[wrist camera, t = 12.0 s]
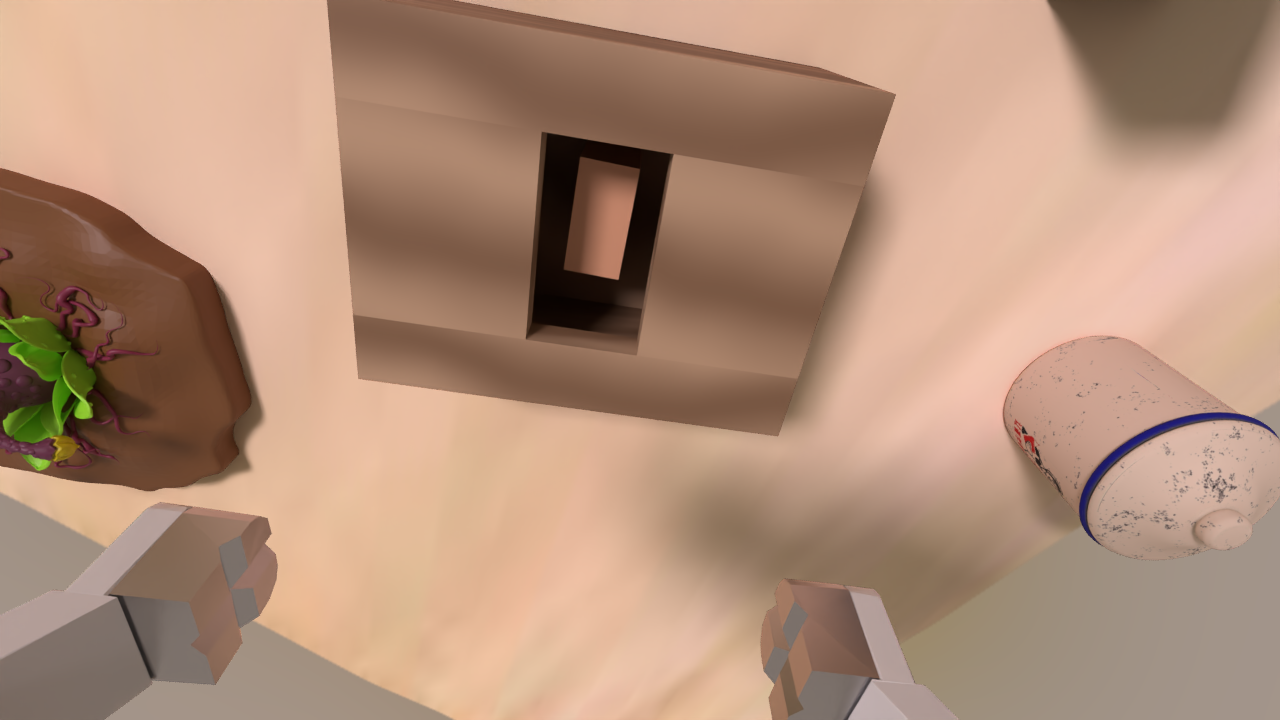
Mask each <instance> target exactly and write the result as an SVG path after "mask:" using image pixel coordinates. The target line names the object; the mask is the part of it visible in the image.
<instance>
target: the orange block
mask: <svg viewBox="0 0 1280 720" xmlns="http://www.w3.org/2000/svg"><path fill="white" fill-rule="evenodd" d="M640 161H641V148H635V147H629V146H623V145H617V144H611V143H605V142H599V141H594V140H587V142H586V145H585V147H584V149H583V151H582V154H581V156H580V162H579V168H578V175H577V182H576V189H575V196H574V202H573V209H572V216H571V223H570V229H569V236H568V243H567V250H566V256H565V263H564V270H569V271H574V272H580V273H585V274H590V275H595V276H601V277H606V278H611V279H616V280H618V279H619V274H620V269H621V264H622V259H623V254H624V249H625V244H626V239H627V234H628V229H629V224H630V219H631V214H632V209H633V203H634V198H635V193H636V188H637V183H638V178H639V173H640Z"/></svg>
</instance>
